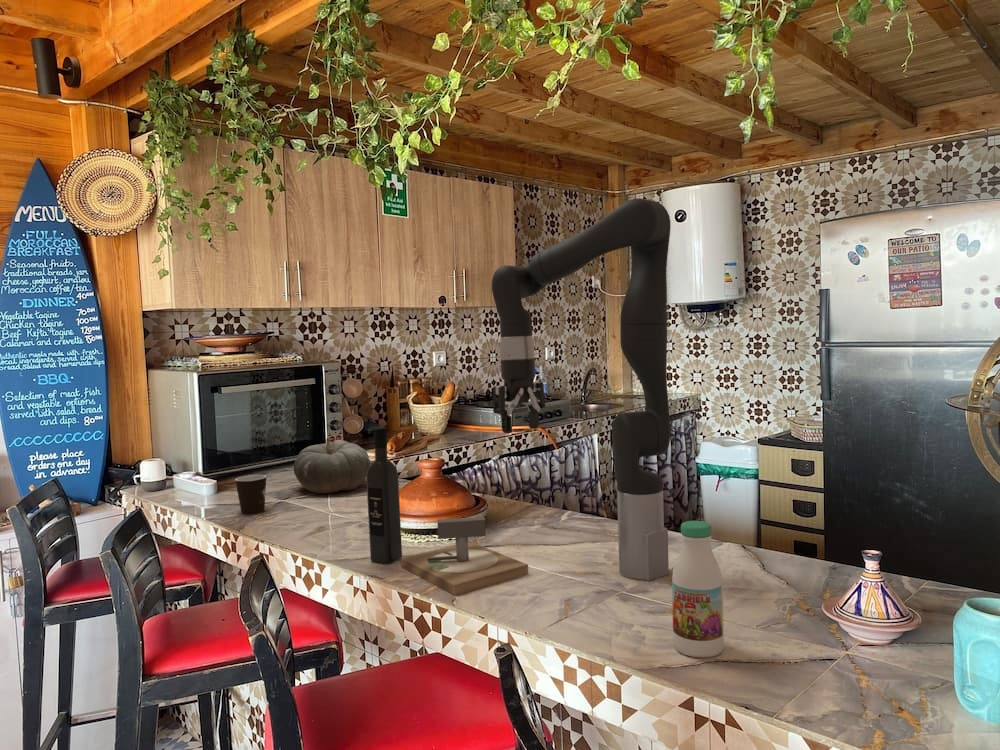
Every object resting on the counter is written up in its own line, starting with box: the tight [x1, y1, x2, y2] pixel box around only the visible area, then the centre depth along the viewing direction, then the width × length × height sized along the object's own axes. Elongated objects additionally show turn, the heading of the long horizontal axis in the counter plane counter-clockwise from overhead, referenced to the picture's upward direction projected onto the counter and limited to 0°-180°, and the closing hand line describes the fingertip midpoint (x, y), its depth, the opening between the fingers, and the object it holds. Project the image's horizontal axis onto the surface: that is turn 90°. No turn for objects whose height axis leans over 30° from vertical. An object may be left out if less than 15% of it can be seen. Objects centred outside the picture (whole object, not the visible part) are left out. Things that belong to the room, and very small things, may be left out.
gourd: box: [293, 437, 372, 495], centre depth 241 cm, size 25×25×17 cm
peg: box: [427, 516, 487, 561], centre depth 156 cm, size 12×3×8 cm, turn 95°
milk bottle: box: [671, 520, 725, 659], centre depth 116 cm, size 8×8×20 cm
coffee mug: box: [234, 474, 267, 515], centre depth 217 cm, size 12×9×10 cm
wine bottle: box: [365, 426, 403, 565], centre depth 165 cm, size 6×6×30 cm
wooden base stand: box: [400, 540, 529, 596], centre depth 157 cm, size 22×18×2 cm
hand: (521, 430), depth 162 cm, fingers open, 8 cm apart
